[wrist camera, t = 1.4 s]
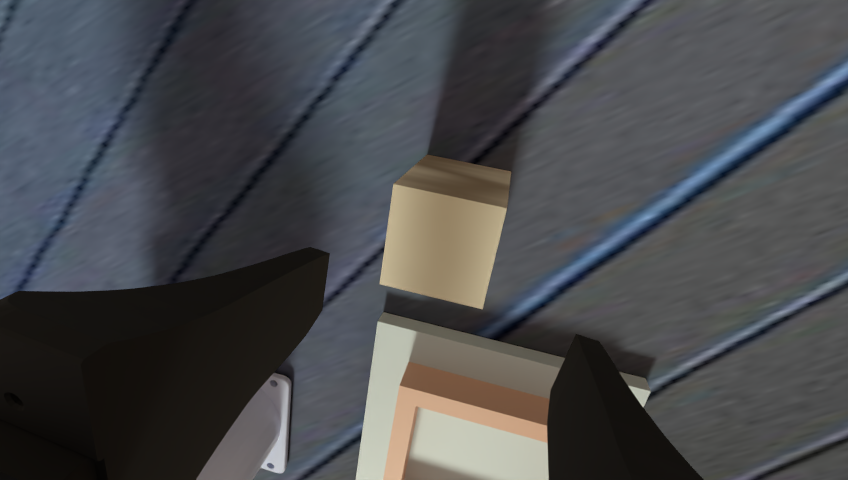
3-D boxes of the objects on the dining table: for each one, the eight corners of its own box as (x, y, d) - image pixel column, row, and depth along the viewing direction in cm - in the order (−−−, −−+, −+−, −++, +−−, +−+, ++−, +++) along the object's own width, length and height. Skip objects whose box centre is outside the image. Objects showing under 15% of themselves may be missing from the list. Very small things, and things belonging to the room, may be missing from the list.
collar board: (357, 489, 30) (341, 532, 27) (383, 311, 25) (365, 342, 22) (568, 554, 28) (573, 607, 25) (645, 378, 23) (662, 420, 20)
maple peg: (414, 232, 23) (379, 284, 17) (427, 154, 21) (393, 183, 16) (492, 249, 22) (482, 309, 17) (511, 171, 21) (507, 208, 15)
